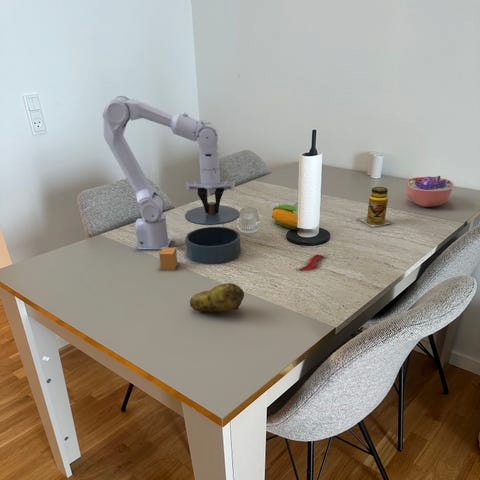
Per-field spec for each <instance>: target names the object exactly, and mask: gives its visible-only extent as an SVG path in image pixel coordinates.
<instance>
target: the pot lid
mask: <svg viewBox="0 0 480 480" xmlns="http://www.w3.org/2000/svg"><path fill="white" fill-rule="evenodd" d="M240 215H241V212H240V210H238V209H237V208H234V207H232V206H227V205H219V212H218V213H216V201H208V213H206V212H205V208H204V206H203V205H202V206H197V207H194V208H191V209H190V210H187V211H186V212H185V213H184V219H185V220H186V221H187V222H188V223H190V224H195V225H200V226H219V225H225V224H229V223H232V222H234V221H236V220H238V219H239V218H240Z"/></svg>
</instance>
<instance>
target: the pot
mask: <svg viewBox="0 0 480 480" xmlns="http://www.w3.org/2000/svg"><path fill="white" fill-rule="evenodd" d="M185 247H186V255H187V258H188V259H189V260H191V261H192V262H195V263H197V264H199V263H200V264H203V265H204V264H206V265H217V264H225V263H228V262H230V261H233V260H235V259H236V258H238V257H240V254H241V234H240V233H239V232H238V231H237V230H236V229H233V228H230V227H227V226H226V227H224V226H207V227H200V228H197V229H194V230H192V231H190V232H188V233H187V234H186V236H185Z"/></svg>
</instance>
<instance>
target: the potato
mask: <svg viewBox="0 0 480 480" xmlns="http://www.w3.org/2000/svg"><path fill="white" fill-rule="evenodd" d="M244 298H245V292H244V290H243V288H241V286H239V285H238V284H235V283H232V282H227V283H222V284H219V285H216V286H214V287H213V288H211V289H209V290H204V291H200V292H198V293H195V294H194V295H192V296H191V297H190V300H189V306H190V308H191V309H193V310H195V311H197V312H209V313H222V312H225V311H229V310H235V311H237V310H239V307H240V306H241V304H242V302H243V300H244Z"/></svg>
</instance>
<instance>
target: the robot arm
mask: <svg viewBox="0 0 480 480" xmlns="http://www.w3.org/2000/svg"><path fill="white" fill-rule="evenodd" d="M103 109H104V110H103V112H102V114H101V115H102V119H103V138H104V140H105V143H106V144H107V145H108V147H109V149H110V151H111V153H112V154H113V156H114V158H115V160H116V162H117V163H118V165H119V167H120V169H121V170H122V172H123V174H124V176H125V178H126V179H127V181H128V182H129V184H130V187H131V188H132V190H133V192H134V193H135V197H136V202H137V205H138V206H139V213H140V216H141V217H140V218H137V219H136V221H135V235H136V241H137V250H162V248H170V244H171V243H172V238H169V236H168V226H167V219H166V215H165V214H164V211H163V210H164V209H165V206H166V205H165V199H164V198H163V197H162V196H161V195H160V194H159V193H158V192H157V191H156V189H155V188H154V187H153V186H152V185H151V184H150V182H149V180H148V179H147V177H146V175H145V173H144V172H143V170H142V168H141V165H140V164H139V162H138V160H137V158H136V155H134V153H133V151H132V149H131V148H130V145H129V144H128V142H127V140H126V138H125V136H124V134H125V131H126V127H127V125H128V122H129V121H135V120H136V121H137V120H139V119H144V120H146V121H150V122H153V123H157V124H159V125H162V126H165V127H168V128H169V129H170V130H171V132H172V134H174V135H177V136H178V137H182V138H184V139H187V140H189V141H192V142H197V143H198V146H199V151H198V160H199V172H200V173H199V174H200V180H199V181H187V182H186V184H185V185H186V191H191V190H197V193H196V194H197V196H198V198H199V199H200V201H201V203H202V206H204V208H205V212H206V213H208V203H209V200H208V199H209V198H208V190H214V198H215V199H214V200H215V203H216V213H218V212H219V205H220V204H221V200H222V197H223V195H224V192H225V190H230V191H234V190H235V189H236V188H235V187H236V182H235V181H227V180H221V177H220V158H219V157H220V155H219V154H220V153H219V145H218V140H219V132H218V129H217V127H216V126H215V125H214V124H212V123H211V122H205V120H203V119H200V120H198V119H196V118H193V117H191V116H189V114H188V113H186V112H183V113H179V112H178V113H176V114H175V115H172V114H171V113H168V112H165V111H163V110H161V109H159V108H156V107H154V106H152V105H150V104H148V103H146V102H143V101H140V100H137V99H135V98H129V97H127V96H124V95H118V96H116V97H114V99H111V100H109V101H108V102H106V105H105V107H104V108H103ZM220 206H221V205H220Z"/></svg>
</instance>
